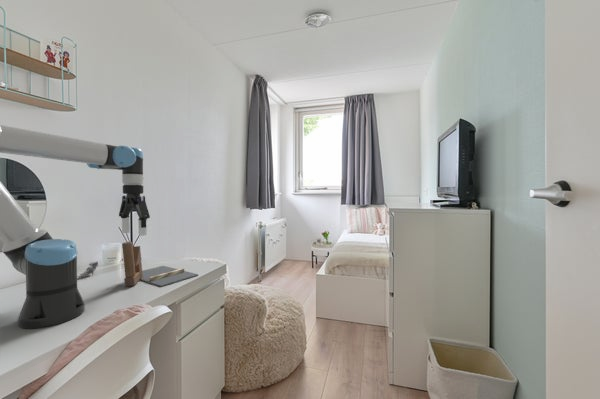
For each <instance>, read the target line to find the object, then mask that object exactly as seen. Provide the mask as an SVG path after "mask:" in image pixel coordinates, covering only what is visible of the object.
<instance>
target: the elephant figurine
mask: <svg viewBox="0 0 600 399" xmlns="http://www.w3.org/2000/svg"><path fill="white" fill-rule="evenodd" d="M88 265H89V266H88V267H87V268H86V269H85V271H83V272H82V273H80V275H77V278H79V279H82V278H84V277H85V276H86V275H87V274H91V275H92V276H94V272H95V271H96V269H97V267H98V266H99V263H98V261H95V262H89V263H88Z"/></svg>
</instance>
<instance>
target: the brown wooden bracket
mask: <svg viewBox="0 0 600 399" xmlns="http://www.w3.org/2000/svg"><path fill="white" fill-rule="evenodd" d="M121 245H122V247H121V248H122V253H123V254H122V256H123V257H122V258H123V267H124V276H125V278H124V279H123V280H124V287H134V286H136V284H138V282H139V281H141V280H140V279H141V278H142V277H143V274H142V271H143V264H142V253H141V252H142V251H141V246H140V245H139V246H137V245H136V246H134V245H133V241H125V242H122V243H121Z"/></svg>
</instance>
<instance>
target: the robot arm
mask: <svg viewBox="0 0 600 399" xmlns="http://www.w3.org/2000/svg"><path fill="white" fill-rule="evenodd" d="M0 153H1V154H9V155H17V156H23V157H24V156H25V157H33V158H41V159H42V158H43V159H50V160H59V161H66V162H75V163H83V164H86V165H87V167H88V168H91V169H97V170H118V171H121V173H122V176H121V177H122V178H121V179H122V180H121V182H122V184H123V185H122V194H124V195H122V198H121V204H120V207H119V212H118V217H120V218H121V234H129V233H131V232H130V230H131V228H130V213H131V211H132V209H133V208H134V209H135V212H136V214H137V216H138V219H137V220H138V237H142V236H147V220H149V219H150V218H151V216H150V213H149V209H148V206H147V202H146V196H145V195H143V194H144V185H143V184H144V154H143V151H142V149H141V148H138V147H130V146H128V145H118V146H117V145H112V144H106V143H103V142H102V143H101V142H95V141H91V140H90V141H89V140H84V139H79V138H73V137H68V136H62V135H57V134H51V133H46V132H41V131H36V130H31V129H25V128H19V127H14V126H7V125H3V124H2V125H1V124H0ZM0 241H1V242H2V243H3V245H2V248H1V251H2V253H3V254H4V255H5V257H7V259H8V260H9V261H10V262H11V263H12V267H13V268H14V269H15V270H16V271H18V272H19V273H20V274H23V275H25V290H26V293H25V296H26V298H25V299H24V302H23V305H22V307H21V310H20V312H19V314H18V318H17V320H18V327H19V328H23V329H38V328H40V329H41V328H47V327H50V326H55V325H58V324H63V323H65V322H68V321H70V320H73V319H75V318H77V317H79V316H81V315H82V314H83V313H84V312H85V301H84V299H83V297H82V295H81V293H80V291H79V289H78V256H77V255H78V249H77V244H76V243H75V242H74V241H73V240H69V239H61V238H53V237H52V236H51V234H50V233H49V232H48V230H47V229H40V228H38V227H37V226H36V225H35V223H34V222H33V221H32V220H31V218H30V217H29V216H28V214H27V213H26V212H25V211H24V210H23V208H22V207H21V206H20V204H19V203H18V202H17V201H16V199H15V198H14V196H13V194H11V193H10V192H9V190H8V188H6V186H5V185H4V184H3V183H2V181H1V180H0Z"/></svg>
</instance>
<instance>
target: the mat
mask: <svg viewBox="0 0 600 399" xmlns="http://www.w3.org/2000/svg"><path fill="white" fill-rule="evenodd" d="M179 269H180V268H173V267H170V266H166V265H161V266H160V265H159V266H157V267H153V268H148V269H144V270H143V269H142V274H143V277H142V278H141V279H140V280H139V281H141V282H144V283H147V284H150V285H153V286H157V287H160V288H162V287H165V286H166V287H167V286H169V285H172V284H176V283H179V282H182V281H185V280H189V279H192V278H195V277H198V276H199V274H197V273H193V272H190V271H186V270H184V272H182V273H178V274H175V275H171V276H168V277H164V278H161V279H157V280H153V281H150V277H152V276H156V275H160V274H164V273H167V272H171V271H175V270H179Z"/></svg>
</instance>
